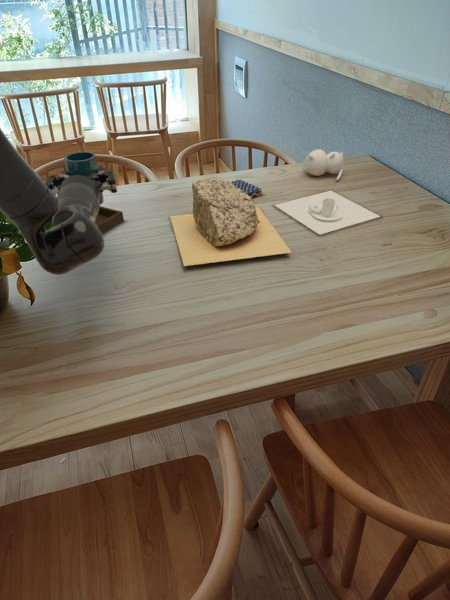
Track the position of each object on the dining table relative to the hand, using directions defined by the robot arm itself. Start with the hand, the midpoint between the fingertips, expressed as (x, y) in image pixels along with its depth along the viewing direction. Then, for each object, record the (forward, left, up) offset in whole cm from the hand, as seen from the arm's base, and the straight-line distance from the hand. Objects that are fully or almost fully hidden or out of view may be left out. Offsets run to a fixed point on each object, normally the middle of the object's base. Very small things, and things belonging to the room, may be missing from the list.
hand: (84, 171), depth 96 cm
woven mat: (+15, +42, -18) cm, 48 cm away
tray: (-10, +7, -18) cm, 21 cm away
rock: (+24, +18, -18) cm, 35 cm away
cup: (+2, -2, -6) cm, 6 cm away
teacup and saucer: (+41, +43, -18) cm, 62 cm away
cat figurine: (+32, +67, -18) cm, 76 cm away
